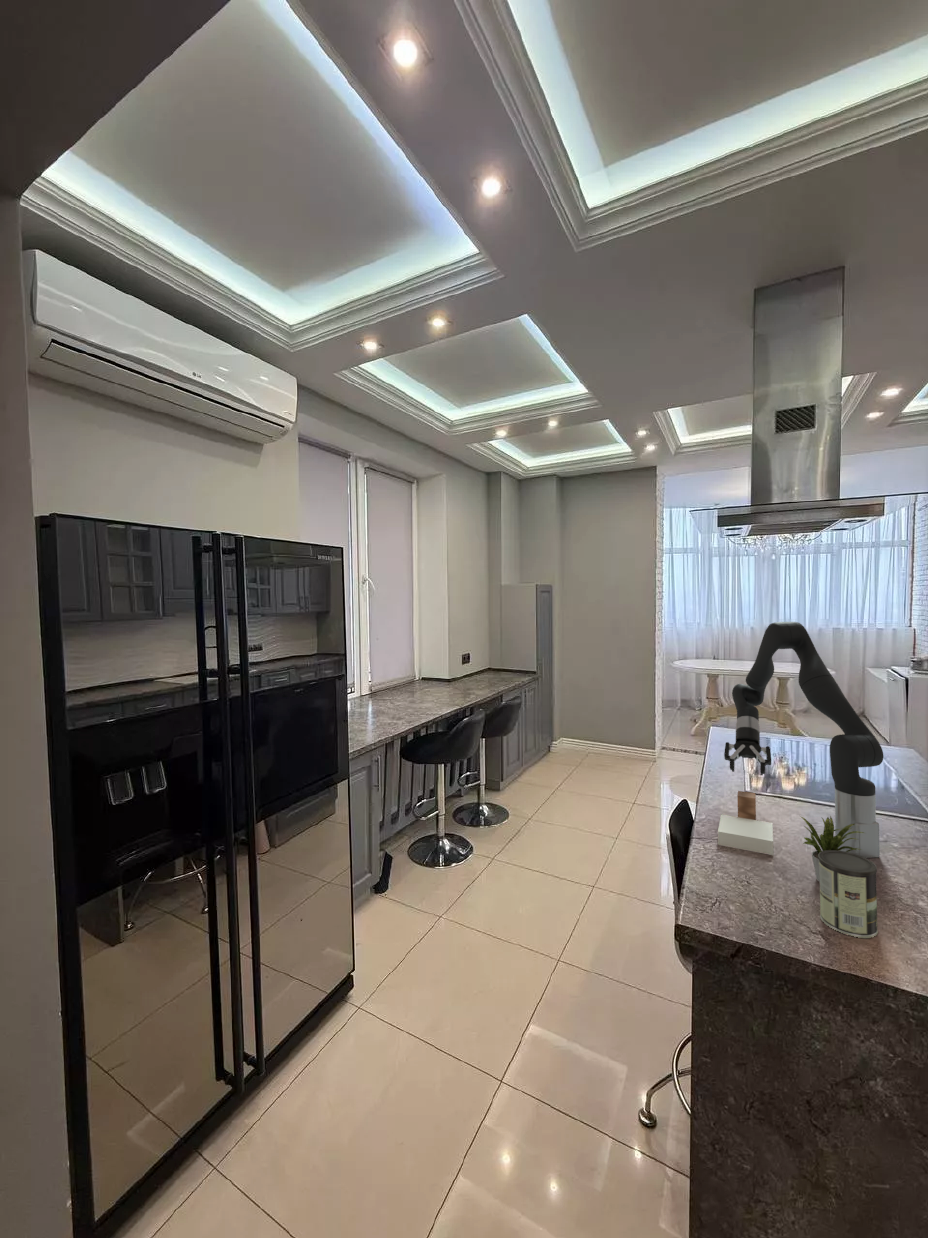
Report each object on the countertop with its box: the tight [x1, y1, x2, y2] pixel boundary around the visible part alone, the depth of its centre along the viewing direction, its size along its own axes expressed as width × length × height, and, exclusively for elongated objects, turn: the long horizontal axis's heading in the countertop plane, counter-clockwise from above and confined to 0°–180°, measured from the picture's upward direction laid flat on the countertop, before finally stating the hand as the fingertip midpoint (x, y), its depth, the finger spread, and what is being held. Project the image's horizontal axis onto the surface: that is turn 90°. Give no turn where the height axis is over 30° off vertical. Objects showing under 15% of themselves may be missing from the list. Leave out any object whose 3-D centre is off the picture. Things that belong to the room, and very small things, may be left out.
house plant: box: [799, 814, 864, 883], centre depth 127 cm, size 14×14×16 cm
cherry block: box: [736, 790, 757, 820], centre depth 164 cm, size 5×5×10 cm
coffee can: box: [818, 850, 879, 939], centre depth 111 cm, size 10×10×14 cm
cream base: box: [717, 814, 774, 856], centre depth 152 cm, size 14×14×4 cm
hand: (747, 772), depth 172 cm, fingers open, 8 cm apart
